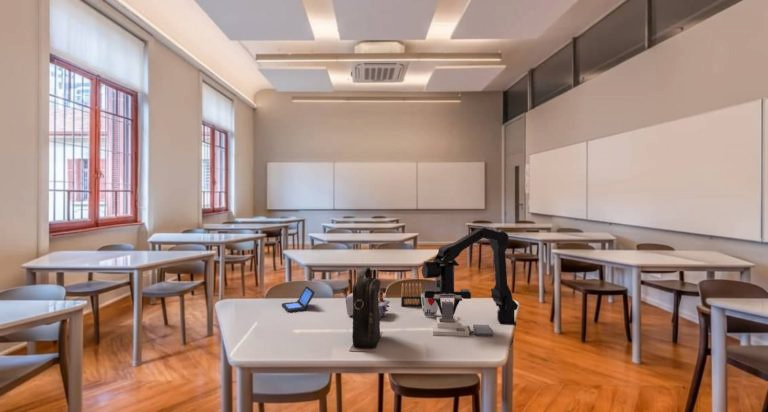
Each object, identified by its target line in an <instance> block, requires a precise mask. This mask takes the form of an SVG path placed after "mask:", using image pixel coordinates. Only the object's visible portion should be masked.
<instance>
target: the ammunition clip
mask: <svg viewBox="0 0 768 412" xmlns="http://www.w3.org/2000/svg"><path fill="white" fill-rule="evenodd" d="M422 286H423V285H422V282H419V284H418V282H416V283H414V282H412V285H411V282H409V283H408V282H406V283H404V282H402V283H401V291H400V292H401V299H400V300H401V301H400V307H402V308H404V307H405V308H407V307H411V308H413V307H414V308H415V307H416V308H422V301H421V294H422V293H423V287H422Z"/></svg>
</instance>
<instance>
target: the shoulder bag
mask: <svg viewBox="0 0 768 412" xmlns="http://www.w3.org/2000/svg"><path fill="white" fill-rule="evenodd" d="M381 284H382V283H381V280H380V279H378V278H374V277H372V270H371V268H370V267H367V266H365V267H360V268H359V269H358V271H357V274H356V282H355V283H354V284H353V285H352V293H353V316H352V345H351V346H350V348H349V350H348V351H350V352H351V351H352V352H367V353H368V352H370V353H371V352H372V353H373V352H375V351H376V349H377V347H378V344H379V343H380V339H381V337H382V335H383V331H381V326H380V325H381V322H380V321H381V317H380V315H379V302H378V301H379V298H380V296H379V293H380V287H381Z"/></svg>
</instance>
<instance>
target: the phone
mask: <svg viewBox="0 0 768 412" xmlns="http://www.w3.org/2000/svg"><path fill="white" fill-rule="evenodd" d="M472 329H473V331H476V334H475V335H476V337H489V338H490V337H491V338H492V337H494V333H493V330H492V329H491V327H490V325H489V324H472Z"/></svg>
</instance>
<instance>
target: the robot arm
mask: <svg viewBox="0 0 768 412" xmlns="http://www.w3.org/2000/svg"><path fill="white" fill-rule="evenodd" d="M483 239H485V240H488V241H489V247H490V248H491V249H492V252H493V263H494V276H495V278H494V281H495V285H494V287H492V288H490V291H491V296H490V297H491V298H492V300H493V302H494V303H495V306H496V307H498V309H497V311H496V314H497V316H496V318H497V321H498V324H500V325H501V324H502V325H516V321H515V319H516V317H515V315H516V314H515V311H516V310H518V307H519V305H518V303H517V302H515V300H514V299H513V295H512V291H511V289H510V287H509V284H508V275H507V260H506V259H507V257H506V251H507V249H508V247H509V240H510V239H509V234H508V233H507V232H505V231H501V230H500V231H499V230H493V229H489V228H487V227H482V226H481V227H480V226H479V227H477V228H476V229H475V230H473V231H471V232H470V233H468V234H466V235H465V236H463V237H461V238H459V239H458V240H456V241H454V242H451V243H447V244H445V245H442V246H440V247H438V252H437V254H436V255H435V257H434V258H433V260H432V261H427V260H425V261H424V262H423V265H422V269H421V275H422V278H424V279H434V278H435V279H436V288H437V289H439V290H435V288H425V289H424V293H425V298H433V300H435V301H436V302H437V304H438V309H439V313H440V315H441V316H442V301H441V297H453V316H455V314H456V313H455V312H456V310H457V307H458V305H459V304H460V302H463V300H469V299H472V293H471V290H470V289H468V288H467V289H466V288H464V289H463V288H462V289H461V288H460V289H459V291H455V267H458V266H460V264H459V263H458V262H457V261H456V260H455V259H457V258H458V257H459V256H460V255H461V253H462V252H463V251H465V250H466V249H467V248H469V247H470V246H472V245H474V244H475V243H477V242H479V241H481V240H483ZM437 278H439V279H437Z"/></svg>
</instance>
